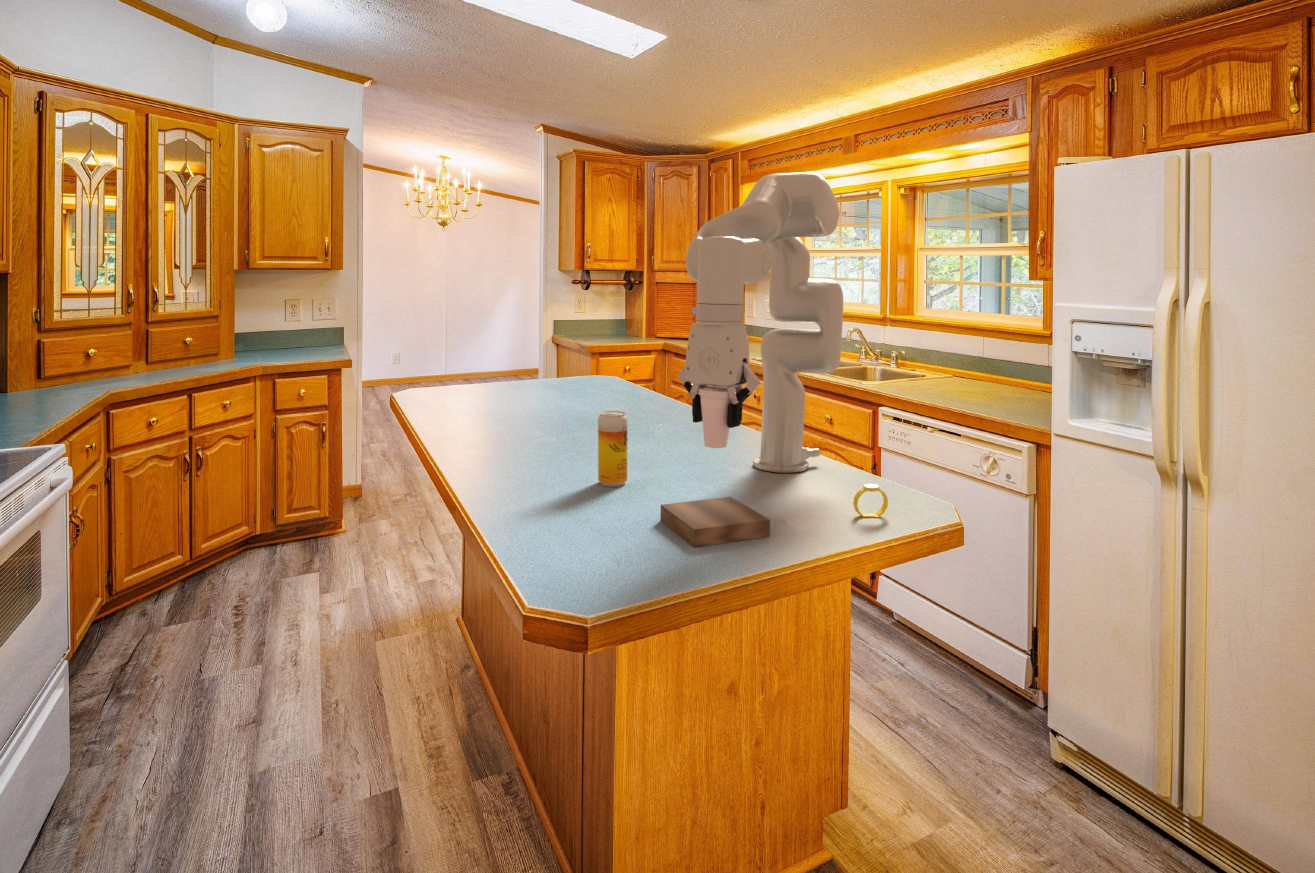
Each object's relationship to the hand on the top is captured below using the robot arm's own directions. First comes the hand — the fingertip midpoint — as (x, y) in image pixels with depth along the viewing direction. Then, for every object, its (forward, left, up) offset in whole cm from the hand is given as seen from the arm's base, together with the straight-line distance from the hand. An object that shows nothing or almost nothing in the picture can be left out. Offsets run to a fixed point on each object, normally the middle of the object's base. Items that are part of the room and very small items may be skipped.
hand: (716, 422), depth 122 cm
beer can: (+7, -33, -19) cm, 39 cm away
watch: (-30, +4, -19) cm, 36 cm away
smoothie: (0, 0, -4) cm, 4 cm away
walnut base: (0, 0, -19) cm, 19 cm away
